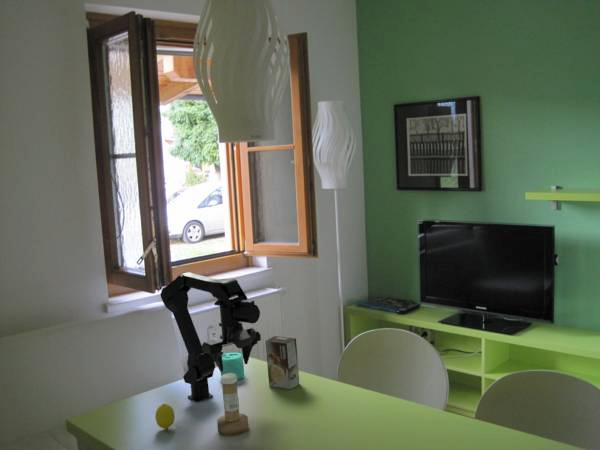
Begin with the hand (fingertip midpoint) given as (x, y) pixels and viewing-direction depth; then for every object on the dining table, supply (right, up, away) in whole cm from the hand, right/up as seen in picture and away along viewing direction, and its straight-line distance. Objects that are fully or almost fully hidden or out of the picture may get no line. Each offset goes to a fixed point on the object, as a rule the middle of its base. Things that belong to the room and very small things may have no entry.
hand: (233, 367), depth 212 cm
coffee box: (+15, -10, +18) cm, 26 cm away
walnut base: (+1, -15, -15) cm, 21 cm away
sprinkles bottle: (+1, -12, -15) cm, 19 cm away
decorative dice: (-3, -10, +29) cm, 31 cm away
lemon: (-19, -16, -12) cm, 27 cm away
